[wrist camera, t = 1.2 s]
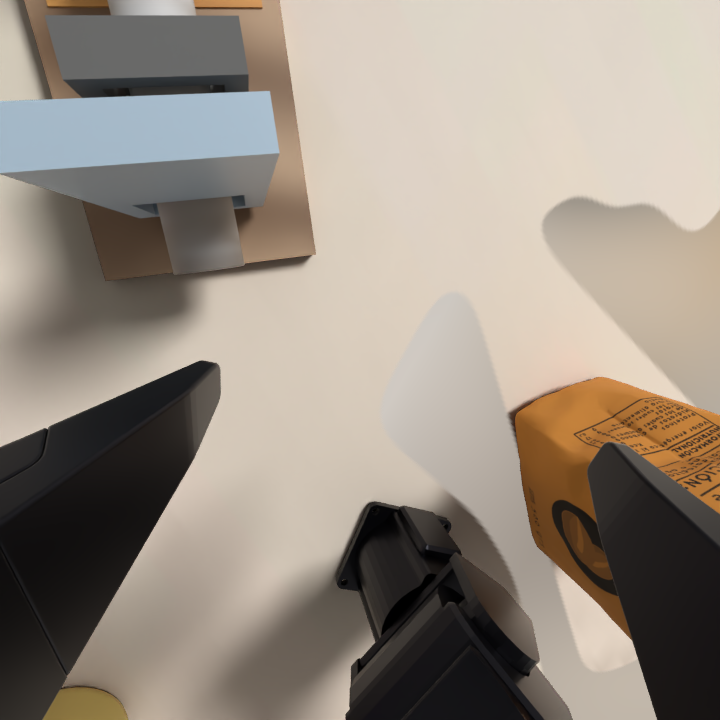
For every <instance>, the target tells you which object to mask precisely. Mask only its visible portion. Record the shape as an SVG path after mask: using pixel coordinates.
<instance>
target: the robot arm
mask: <svg viewBox="0 0 720 720" xmlns="http://www.w3.org/2000/svg"><path fill="white" fill-rule="evenodd" d="M220 394H221V383H220V367H219V365H218V364H217V363H213V362H208V361H198V362H196V363H193V364H191V365H189V366H187V367H184V368H182V369H180V370H177V371H175V372H173V373H170V374H168V375H166V376H164V377H161V378H159V379H157V380H154V381H152V382H150V383H148V384H145V385H143V386H141V387H138V388H136V389H134V390H132V391H129V392H127V393H125V394H122V395H120V396H118V397H115V398H113V399H111V400H109V401H106V402H104V403H102V404H99V405H97V406H95V407H93V408H90V409H88V410H86V411H83V412H81V413H79V414H76V415H74V416H72V417H70V418H67V419H65V420H63V421H60V422H58V423H56V424H53V425H51V426H49V428H48V429H46V428H44V429H42V430H39V431H37V432H35V433H33V434H30V435H28V436H26V437H23V438H21V439H19V440H16V441H14V442H11V443H9V444H7V445H4V446H2V447H0V720H43V718H44V716H45V715H46V713H47V711H48V709H49V708H50V706H51V704H52V703H53V701H54V699H55V697H56V696H57V694H58V692H59V691H60V689H61V687H62V685H63V684H64V682H65V680H66V679H67V674H69V673H70V671H71V669H72V668H73V666H74V664H75V663H76V661H77V659H78V657H79V656H80V654H81V652H82V651H83V649H84V647H85V645H86V644H87V642H88V640H89V639H90V637H91V635H92V633H93V632H94V630H95V628H96V626H97V625H98V623H99V621H100V620H101V618H102V616H103V614H104V613H105V611H106V609H107V608H108V606H109V604H110V602H111V601H112V599H113V597H114V596H115V594H116V592H117V590H118V589H119V587H120V585H121V584H122V582H123V580H124V578H125V577H126V575H127V573H128V572H129V570H130V568H131V566H132V565H133V563H134V561H135V559H136V558H137V556H138V554H139V553H140V551H141V549H142V547H143V546H144V544H145V542H146V541H147V539H148V537H149V535H150V534H151V532H152V530H153V529H154V527H155V525H156V523H157V522H158V520H159V518H160V517H161V515H162V513H163V511H164V510H165V508H166V506H167V505H168V503H169V501H170V499H171V498H172V496H173V494H174V492H175V491H176V489H177V487H178V486H179V484H180V482H181V480H182V479H183V477H184V475H185V474H186V472H187V470H188V468H189V467H190V465H191V463H192V461H193V459H194V458H195V455H196V453H197V451H198V449H199V447H200V444H201V442H202V440H203V437H204V435H205V433H206V430H207V428H208V426H209V423H210V421H211V419H212V416H213V414H214V412H215V409H216V407H217V405H218V402H219V399H220ZM587 478H588V482H589V487H590V492H591V497H592V502H593V507H594V512H595V517H596V522H597V527H598V531H599V535H600V539H601V543H602V546H603V549H604V553H605V556H606V559H607V562H608V565H609V568H610V572H611V575H612V578H613V581H614V584H615V587H616V591H617V594H618V597H619V600H620V603H621V606H622V610H623V613H624V616H625V619H626V622H627V625H628V629H629V632H630V635H631V638H632V641H633V644H634V648H635V651H636V654H637V657H638V660H639V663H640V666H641V669H642V672H643V676H644V679H645V682H646V685H647V689H648V692H649V695H650V698H651V701H652V705H653V708H654V711H655V714H656V717H657V720H720V514H719V513H718V512H716V511H715V510H714V509H712V508H711V507H710V506H708V505H707V504H706V503H704V502H703V501H702V500H700V499H699V498H697V497H696V496H695V495H693V494H692V493H691V492H689V491H688V490H687V489H685V488H684V487H683V486H681V485H680V484H679V483H677V482H676V481H675V480H673V479H672V478H671V477H669V476H668V475H667V474H665V473H664V472H663V471H661V470H660V469H659V468H657V467H656V466H654V465H653V464H652V463H650V462H649V461H648V460H646V459H645V458H644V457H642V456H641V455H640V454H638V453H637V452H636V451H634V450H633V449H632V448H630V447H629V446H627V445H625V444H621V443H616V442H611V441H609V442H606V443H604V444H603V445H602V446H601V448H600V449H599V451H598V452H597V454H596V455H595V457H594V458H593V460H592V461H591V462H590V464H589V466H588V469H587ZM375 508H378V509H377V510H376V511H374V512H373V510H374V509H375ZM444 524H445V526H443V525H444ZM450 529H451V523H450V522H449V520H448V519H447V518H445V517H441V516H436V515H435V514H434V513H433V512H429V511H424V510H420V509H416V508H412V507H408V506H400V507H398V506H394V505H389V504H385V503H381V502H371V503H370V504H369V505H368V507H367V509H366V511H365V513H364V516H363V518H362V520H361V522H360V525H359V527H358V529H357V531H356V534H355V536H354V538H353V541H352V543H351V545H350V547H349V550H348V552H347V554H346V556H345V559H344V561H343V563H342V565H341V568H340V570H339V572H338V575H337V577H336V582H337V585H338V587H339V588H341V589H347V590H354V591H359V593H360V596H361V599H362V602H363V605H364V608H365V612H366V615H367V618H368V621H369V624H370V627H371V630H372V633H373V636H374V639H375V642H376V643H375V644H374V645H373V646H372V647H371V648H370V649H369V650H368V651H367V652H366V653H365V655H364V656H363V657H362V658H361V659H357V660H356V661H355V663H354V664H353V665H352V666H351V687H350V702H349V707H350V710H349V711H348V712H347V713H346V720H573V719H572V716H571V713H570V711H569V708H568V707H567V705H566V704H565V702H564V701H563V700H562V698H561V697H560V696H559V694H558V693H557V692H556V691H555V689H554V688H553V687H552V685H551V684H550V683H549V681H548V680H547V679H546V678H545V676H544V675H543V674H542V672H541V671H540V670H539V668H538V667H537V666H536V664H537V663H538V662H539V660H540V658H539V653H538V648H537V643H536V638H535V634H534V629H533V625H532V621H531V620H530V618H529V617H528V615H527V614H526V613H525V612H524V611H523V610H522V608H521V607H520V606H519V605H518V604H517V603H516V601H515V600H514V599H513V598H512V597H511V596H510V594H509V593H508V592H507V591H506V590H505V589H504V588H503V587H502V586H501V585H500V584H498V583H497V582H496V581H494V580H493V579H492V578H490V577H489V576H488V575H486V574H485V573H484V572H482V571H481V570H480V569H478V568H477V567H476V566H474V565H473V564H472V563H470V562H469V561H468V560H466V559H465V558H464V557H462V554H461V551H460V549H459V548H458V547H457V545H456V544H455V542H454V541H453V540H452V538H451V537H450V535H449V534H448V533H449V531H450ZM344 579H346V580H345V581H342V580H344Z"/></svg>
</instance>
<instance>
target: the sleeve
mask: <svg viewBox="0 0 720 720" xmlns="http://www.w3.org/2000/svg"><path fill="white" fill-rule="evenodd" d="M278 156H279V146H278V140H277V134H276V127H275V121H274V115H273V108H272V102H271V95H270V91H256V92H230V93H204V94H178V95H151V96H125V97H99V98H72V99H46V100H20V101H0V174H1V175H4V176H7V177H10V178H14V179H17V180H20V181H23V182H26V183H29V184H33V185H36V186H39V187H42V188H45V189H48V190H52V191H55V192H58V193H61V194H64V195H67V196H71V197H74V198H77V199H80V200H83V201H86V202H90V203H93V204H96V205H99V206H102V207H105V208H109V209H112V210H115V211H118V212H121V213H124V214H128V215H131V216H134V217H137V218H149V217H159V216H160V215H159V211H158V207H157V203H163V202H174V201H185V200H196V199H207V198H218V197H229V196H231V197H232V202H233V207H234V209H241V208H251V207H261V206H263V204H264V201H265V198H266V195H267V192H268V188H269V185H270V182H271V179H272V176H273V172H274V169H275V166H276V163H277V160H278Z"/></svg>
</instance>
